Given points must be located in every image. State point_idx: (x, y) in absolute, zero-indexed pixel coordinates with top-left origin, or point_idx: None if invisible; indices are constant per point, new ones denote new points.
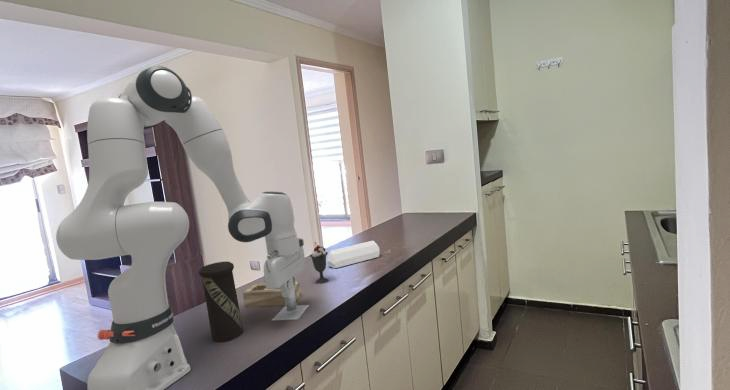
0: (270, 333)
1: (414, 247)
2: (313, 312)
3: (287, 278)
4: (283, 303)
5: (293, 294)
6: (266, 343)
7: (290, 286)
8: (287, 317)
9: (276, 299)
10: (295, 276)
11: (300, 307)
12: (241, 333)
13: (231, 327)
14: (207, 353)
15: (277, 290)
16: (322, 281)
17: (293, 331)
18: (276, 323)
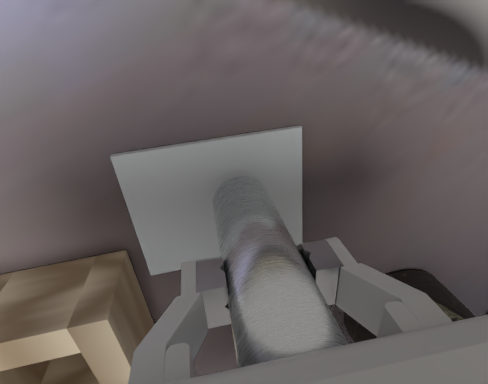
0: (403, 183)
1: None
2: (194, 83)
3: (485, 347)
4: (136, 293)
5: (270, 226)
6: (480, 150)
7: (308, 281)
8: (278, 191)
9: (142, 335)
10: (156, 363)
11: (155, 190)
12: (400, 275)
13: (462, 305)
14: (477, 286)
15: (125, 377)
16: None
17: (409, 86)
18: (317, 211)
